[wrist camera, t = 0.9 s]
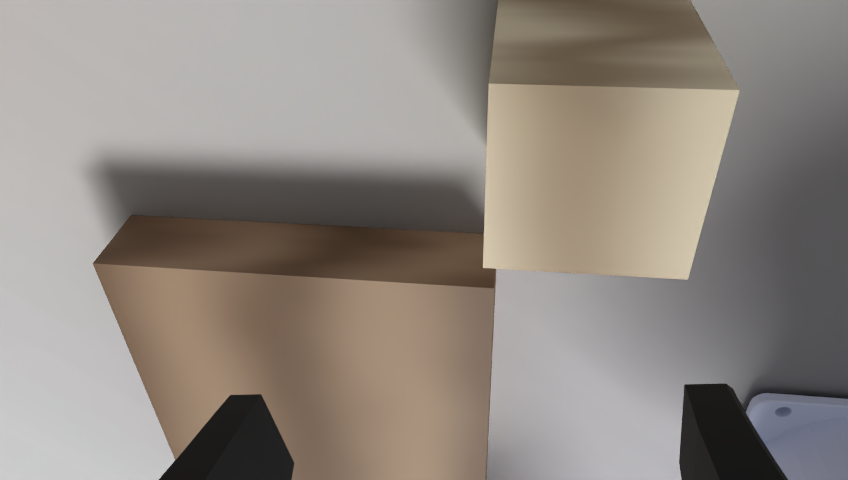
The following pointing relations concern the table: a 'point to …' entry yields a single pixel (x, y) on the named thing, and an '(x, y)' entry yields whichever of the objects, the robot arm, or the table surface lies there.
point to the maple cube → (602, 136)
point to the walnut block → (314, 338)
